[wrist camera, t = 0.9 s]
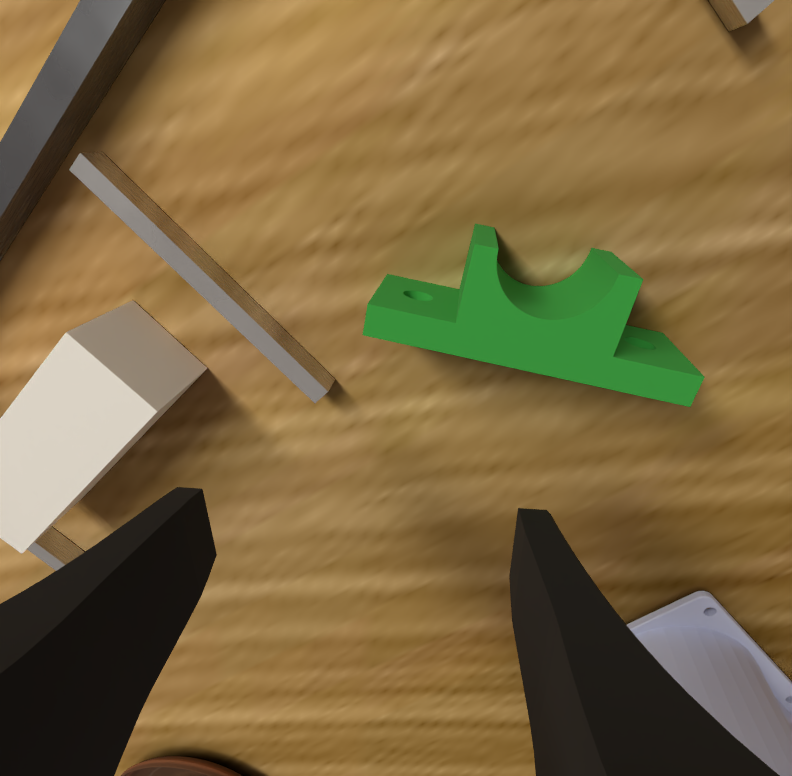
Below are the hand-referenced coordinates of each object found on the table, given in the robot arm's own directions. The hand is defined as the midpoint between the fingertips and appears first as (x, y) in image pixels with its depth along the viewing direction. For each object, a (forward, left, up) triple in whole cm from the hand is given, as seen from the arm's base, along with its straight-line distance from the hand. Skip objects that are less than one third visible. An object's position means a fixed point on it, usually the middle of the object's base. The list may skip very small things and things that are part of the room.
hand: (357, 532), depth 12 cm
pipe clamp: (-1, -5, -11) cm, 12 cm away
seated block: (+7, +12, -10) cm, 18 cm away
